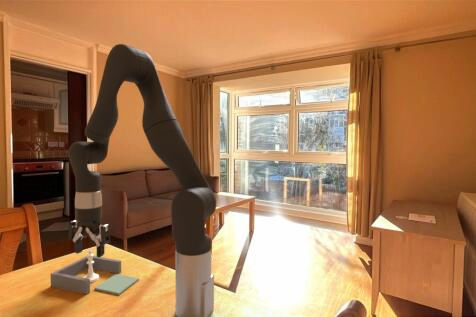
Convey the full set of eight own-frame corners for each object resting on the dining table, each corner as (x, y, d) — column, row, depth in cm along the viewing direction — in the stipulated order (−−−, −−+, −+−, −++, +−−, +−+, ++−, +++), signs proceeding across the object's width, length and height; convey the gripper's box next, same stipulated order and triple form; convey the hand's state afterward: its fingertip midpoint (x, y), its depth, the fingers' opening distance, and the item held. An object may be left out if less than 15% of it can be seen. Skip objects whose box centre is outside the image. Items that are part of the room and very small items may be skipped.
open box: (121, 271, 94) (121, 260, 93) (86, 294, 80) (86, 281, 80) (89, 265, 98) (88, 255, 97) (50, 286, 84) (50, 273, 84)
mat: (139, 280, 88) (139, 278, 88) (119, 295, 80) (119, 293, 80) (116, 275, 91) (116, 273, 91) (94, 289, 82) (94, 287, 82)
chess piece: (91, 284, 86) (91, 253, 85) (78, 282, 87) (77, 251, 86) (102, 276, 90) (102, 247, 90) (89, 274, 91) (89, 245, 91)
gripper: (115, 204, 88) (116, 253, 89) (80, 200, 92) (81, 247, 94) (97, 209, 81) (98, 263, 82) (60, 205, 85) (61, 255, 86)
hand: (89, 254), depth 88 cm, fingers open, 8 cm apart
